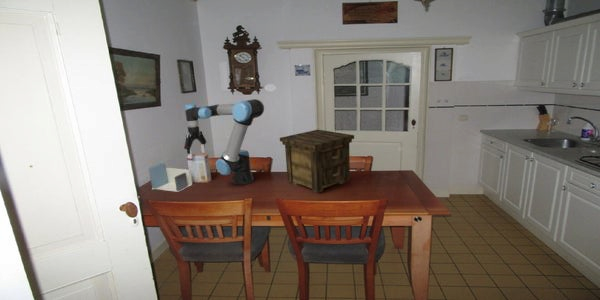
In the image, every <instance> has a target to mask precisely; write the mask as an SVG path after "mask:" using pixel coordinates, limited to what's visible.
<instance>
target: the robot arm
mask: <svg viewBox="0 0 600 300" xmlns="http://www.w3.org/2000/svg"><path fill="white" fill-rule="evenodd" d="M264 111H265V105H264V103H263V102H262V101H261V100H259V99H257V98H256V99H255V98H254V99H248V100H240V101H239V102H236V103H227V104H224V103H223V104H213V105H206V106H200V107H197V105H196V103H188V104H185V105H184V112H185V117H186V118H185V119H186V125H187V132H188V133H189V134H185V143H184V149H185V150H186V152H187V156H188V157H189V158H192V154H193V151H192V148H191V147H192V146H193V143H194V141H195V140H197V141H198V142H199V143H200V150H201V154H205V153H206V146H205V145H206V143H207V140H206V138H205V136H204V134H203V131H202V130H201V131H200V126H199V119H203V120H206V119H209V118H212V117H216V116H218V117H219V116H232V117H233V121H234V124H233V127H232V130H231V133H230V136H229V140H228V141H227V142H228V143H227V145H226V149H225V150H224V151H223V152H222V153H221V156H220V158H218V159H217V160H216V161H215V168H216V170H217V172H218V173H219V174H220V175H222V176H228V175H231V174H232V173H233V177H232V184H234V185H237V186H238V185H239V186H241V185H242V186H244V185H248V184H251V183H253V182H254V181H255V179H254V178H255V177H254V176H253V173H252V171H251V162H250V160H251V159H250V153H249V151H248V150H246V149H241V148H242V145H243V142H244V140H245V137H246V133H247V130H248V128H249V127H250V126H251V125H252V124H253V121H254V119H256V118H260V117H261V116H262V115H263V114H264Z"/></svg>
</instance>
